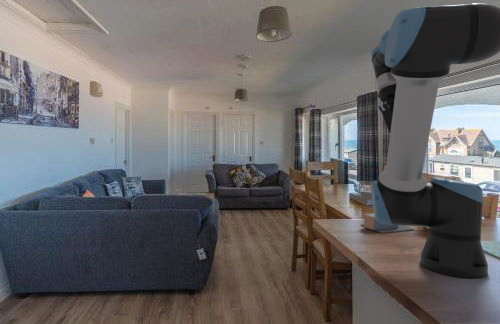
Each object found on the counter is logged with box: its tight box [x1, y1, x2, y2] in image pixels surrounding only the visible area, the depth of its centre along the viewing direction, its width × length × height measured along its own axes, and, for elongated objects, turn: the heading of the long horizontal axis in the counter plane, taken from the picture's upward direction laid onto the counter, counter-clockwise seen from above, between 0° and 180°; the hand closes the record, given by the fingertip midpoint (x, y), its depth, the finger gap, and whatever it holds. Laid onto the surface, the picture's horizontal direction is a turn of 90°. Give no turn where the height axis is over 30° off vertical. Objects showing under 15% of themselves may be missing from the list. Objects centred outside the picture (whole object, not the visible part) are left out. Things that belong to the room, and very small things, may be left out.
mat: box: [360, 223, 415, 234], centre depth 128 cm, size 15×12×1 cm
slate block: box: [363, 212, 399, 231], centre depth 127 cm, size 5×5×12 cm
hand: (404, 153), depth 108 cm, fingers closed
